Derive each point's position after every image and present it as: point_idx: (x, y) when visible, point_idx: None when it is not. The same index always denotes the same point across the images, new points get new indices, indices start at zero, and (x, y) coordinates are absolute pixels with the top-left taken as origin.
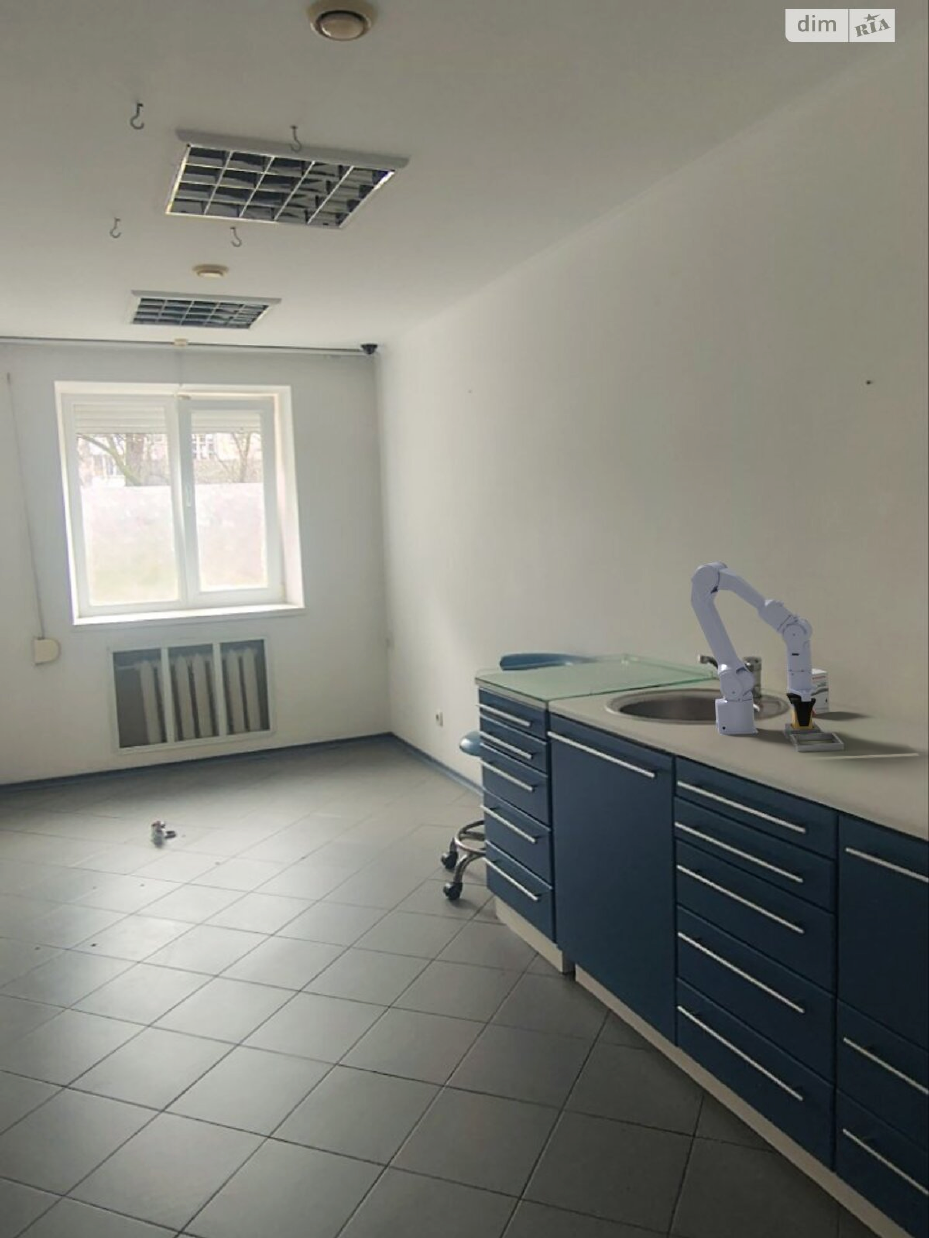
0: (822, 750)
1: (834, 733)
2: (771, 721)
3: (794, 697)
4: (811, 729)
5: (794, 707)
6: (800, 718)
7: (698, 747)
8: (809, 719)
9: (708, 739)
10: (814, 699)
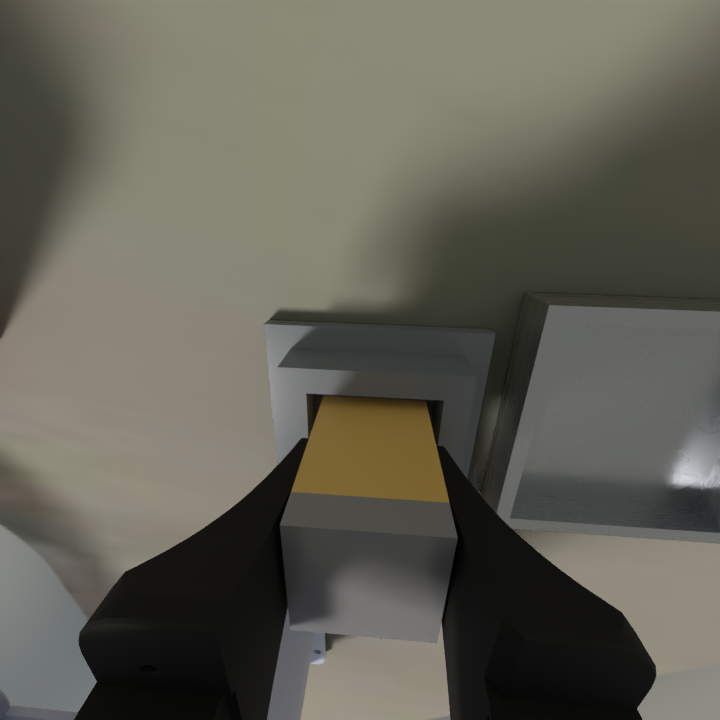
0: None
1: (581, 306)
2: (85, 479)
3: (261, 686)
4: (466, 426)
5: (424, 638)
6: None
7: (441, 709)
8: (462, 475)
9: (352, 678)
10: (621, 661)
